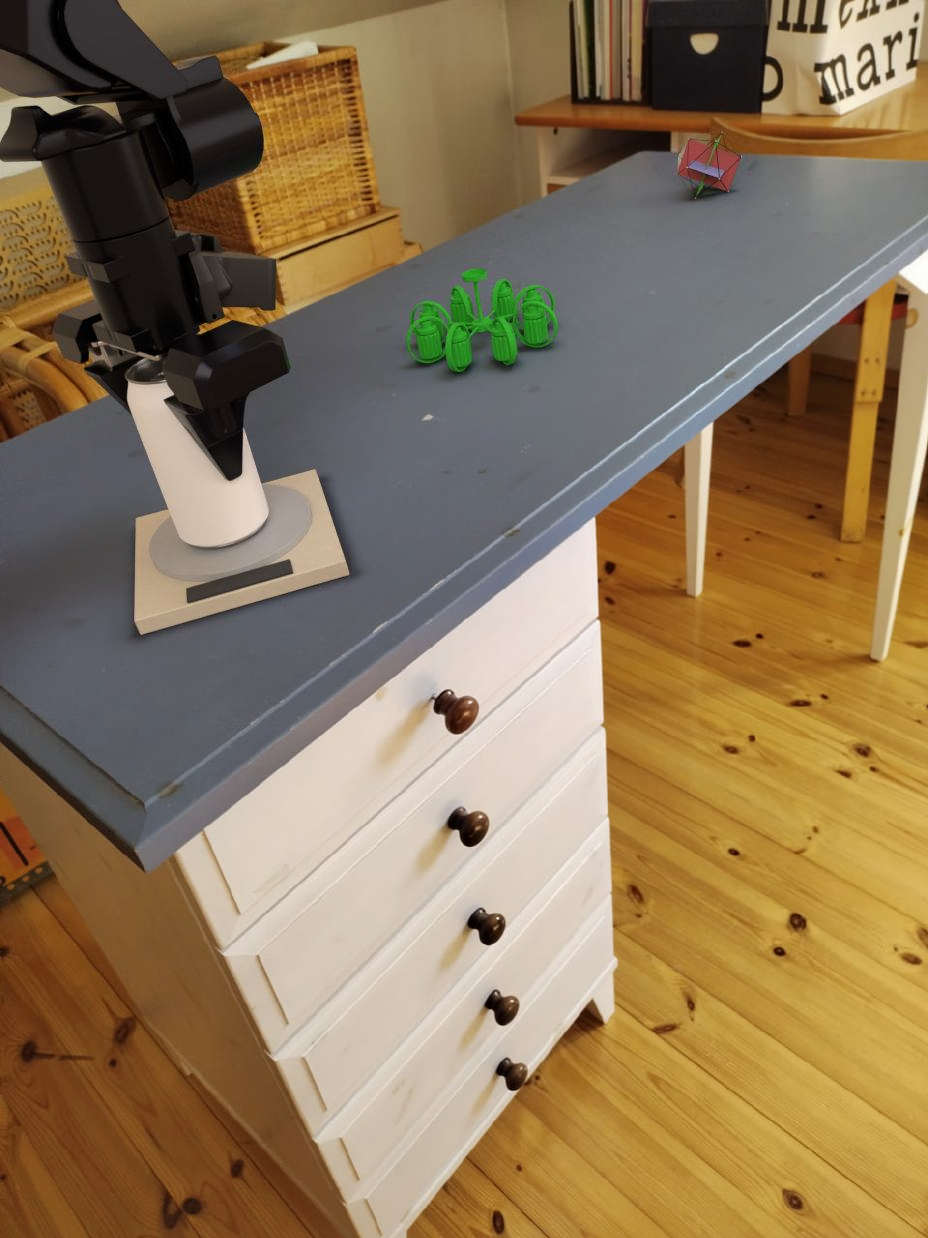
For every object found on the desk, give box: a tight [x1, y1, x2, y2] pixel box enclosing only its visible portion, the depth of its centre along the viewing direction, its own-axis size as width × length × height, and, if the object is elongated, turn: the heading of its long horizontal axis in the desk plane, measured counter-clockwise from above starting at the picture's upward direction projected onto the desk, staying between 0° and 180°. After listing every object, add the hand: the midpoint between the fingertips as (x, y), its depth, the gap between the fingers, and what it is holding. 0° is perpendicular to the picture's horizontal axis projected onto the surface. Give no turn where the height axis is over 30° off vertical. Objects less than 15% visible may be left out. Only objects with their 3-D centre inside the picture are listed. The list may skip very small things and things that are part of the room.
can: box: [125, 358, 269, 549], centre depth 63 cm, size 6×6×12 cm
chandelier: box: [405, 267, 559, 373], centre depth 88 cm, size 15×15×7 cm
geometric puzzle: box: [676, 131, 743, 200], centre depth 116 cm, size 7×7×8 cm
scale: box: [133, 468, 350, 635], centre depth 67 cm, size 14×14×2 cm
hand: (206, 465), depth 64 cm, fingers closed on can, 6 cm apart
